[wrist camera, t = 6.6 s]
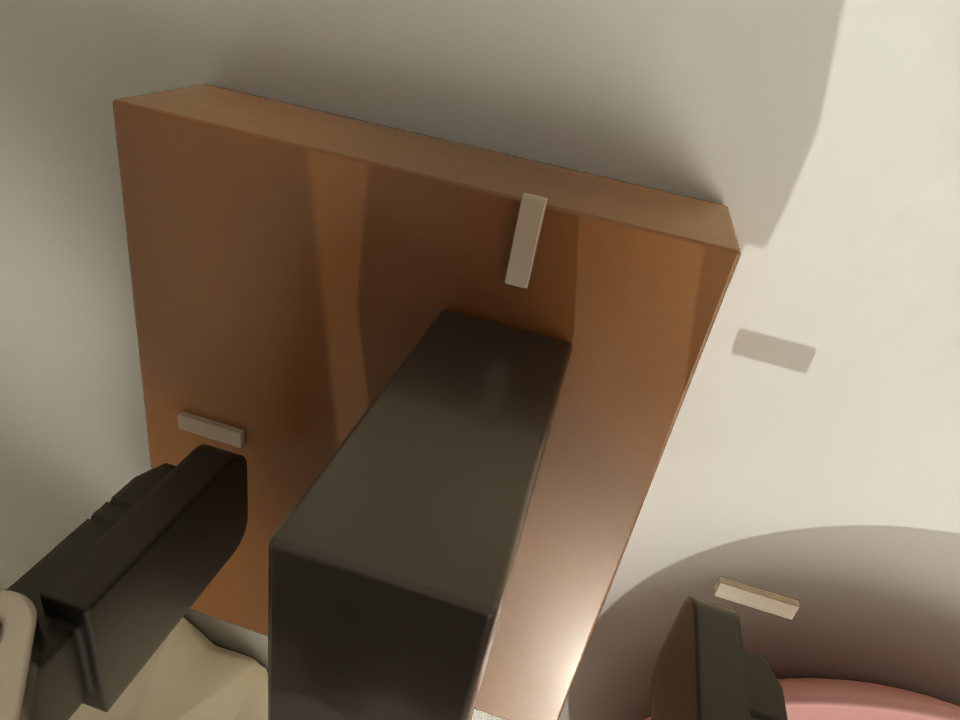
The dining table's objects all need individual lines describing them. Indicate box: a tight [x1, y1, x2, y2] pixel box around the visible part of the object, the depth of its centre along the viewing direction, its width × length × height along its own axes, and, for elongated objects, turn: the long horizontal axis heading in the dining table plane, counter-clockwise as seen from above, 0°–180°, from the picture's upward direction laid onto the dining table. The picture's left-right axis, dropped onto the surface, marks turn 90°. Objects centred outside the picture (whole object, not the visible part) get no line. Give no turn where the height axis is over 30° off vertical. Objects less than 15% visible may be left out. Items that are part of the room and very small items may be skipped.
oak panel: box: [113, 84, 800, 720], centre depth 14 cm, size 13×12×3 cm
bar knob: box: [268, 309, 572, 720], centre depth 10 cm, size 8×2×6 cm, turn 171°
